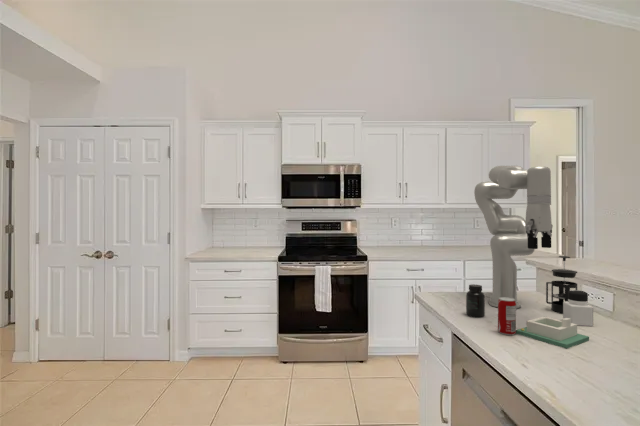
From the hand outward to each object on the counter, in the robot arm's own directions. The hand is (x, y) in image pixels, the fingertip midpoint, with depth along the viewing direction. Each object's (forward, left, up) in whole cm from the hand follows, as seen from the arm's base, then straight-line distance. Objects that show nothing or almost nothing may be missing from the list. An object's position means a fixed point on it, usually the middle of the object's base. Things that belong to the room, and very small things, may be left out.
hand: (539, 248), depth 133 cm
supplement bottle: (-21, -8, -29) cm, 36 cm away
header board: (+8, -8, -28) cm, 31 cm away
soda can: (-2, -17, -29) cm, 33 cm away
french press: (-6, +28, -29) cm, 40 cm away
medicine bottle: (+5, +16, -29) cm, 33 cm away
